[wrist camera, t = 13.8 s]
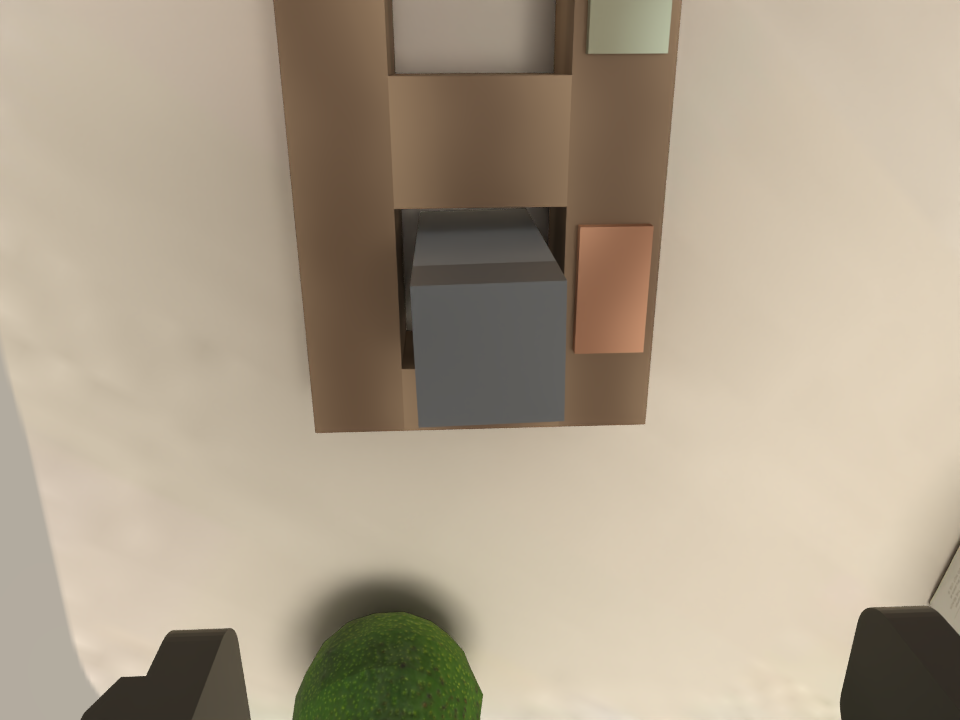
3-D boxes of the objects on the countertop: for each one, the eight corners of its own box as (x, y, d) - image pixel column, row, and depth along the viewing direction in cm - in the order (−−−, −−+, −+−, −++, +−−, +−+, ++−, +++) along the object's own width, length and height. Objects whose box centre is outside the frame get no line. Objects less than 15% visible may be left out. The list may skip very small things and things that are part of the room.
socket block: (662, -199, 24) (708, -252, 20) (620, 380, 31) (647, 429, 27) (279, -202, 23) (245, -258, 19) (330, 387, 31) (313, 438, 27)
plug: (525, 208, 28) (567, 280, 19) (526, 308, 30) (564, 421, 21) (420, 211, 28) (410, 286, 19) (425, 312, 30) (418, 427, 20)
